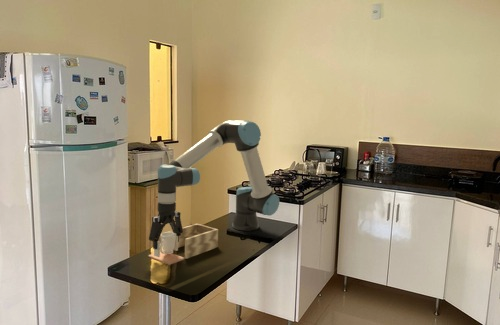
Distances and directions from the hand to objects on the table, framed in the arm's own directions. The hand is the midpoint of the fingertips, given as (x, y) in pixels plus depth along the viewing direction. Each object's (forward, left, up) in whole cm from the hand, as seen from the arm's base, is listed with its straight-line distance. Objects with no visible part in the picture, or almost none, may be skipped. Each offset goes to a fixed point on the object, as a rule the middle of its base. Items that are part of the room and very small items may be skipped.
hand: (166, 252), depth 166 cm
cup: (0, 0, 0) cm, 0 cm away
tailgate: (-4, 0, -2) cm, 5 cm away
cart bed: (-15, 0, -3) cm, 16 cm away
